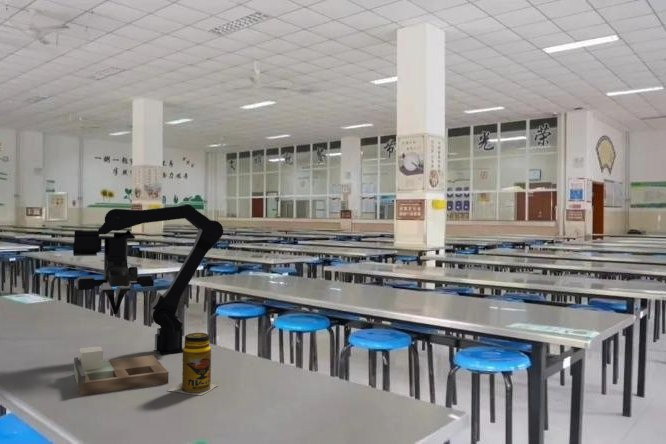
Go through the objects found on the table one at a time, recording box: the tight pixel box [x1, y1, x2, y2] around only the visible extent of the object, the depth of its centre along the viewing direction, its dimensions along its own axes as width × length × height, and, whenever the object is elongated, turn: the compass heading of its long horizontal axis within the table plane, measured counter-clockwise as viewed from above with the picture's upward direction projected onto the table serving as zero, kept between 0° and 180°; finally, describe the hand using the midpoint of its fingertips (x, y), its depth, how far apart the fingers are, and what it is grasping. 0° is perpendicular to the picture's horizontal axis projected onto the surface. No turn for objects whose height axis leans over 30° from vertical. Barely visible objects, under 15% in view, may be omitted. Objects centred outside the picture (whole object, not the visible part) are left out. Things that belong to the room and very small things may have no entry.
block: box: [78, 346, 104, 370], centre depth 126 cm, size 4×4×4 cm
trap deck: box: [73, 354, 169, 396], centre depth 125 cm, size 18×16×4 cm
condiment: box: [167, 332, 218, 396], centre depth 120 cm, size 7×8×12 cm
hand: (115, 314), depth 145 cm, fingers closed
